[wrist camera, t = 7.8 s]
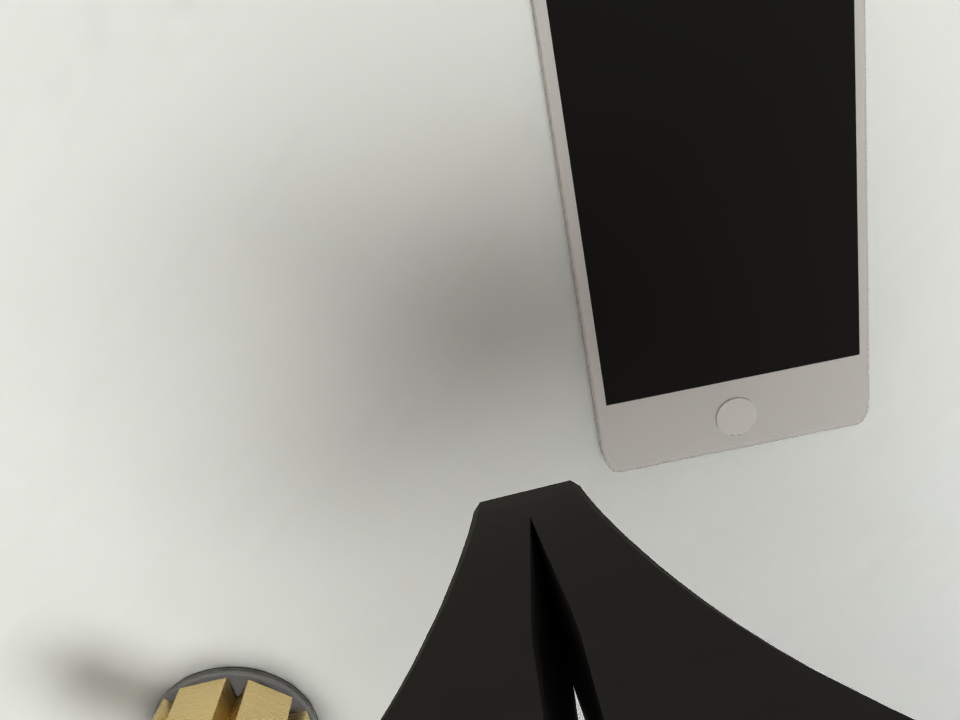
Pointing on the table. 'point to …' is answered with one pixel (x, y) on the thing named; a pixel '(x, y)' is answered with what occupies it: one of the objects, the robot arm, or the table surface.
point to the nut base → (238, 681)
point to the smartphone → (713, 216)
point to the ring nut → (228, 703)
